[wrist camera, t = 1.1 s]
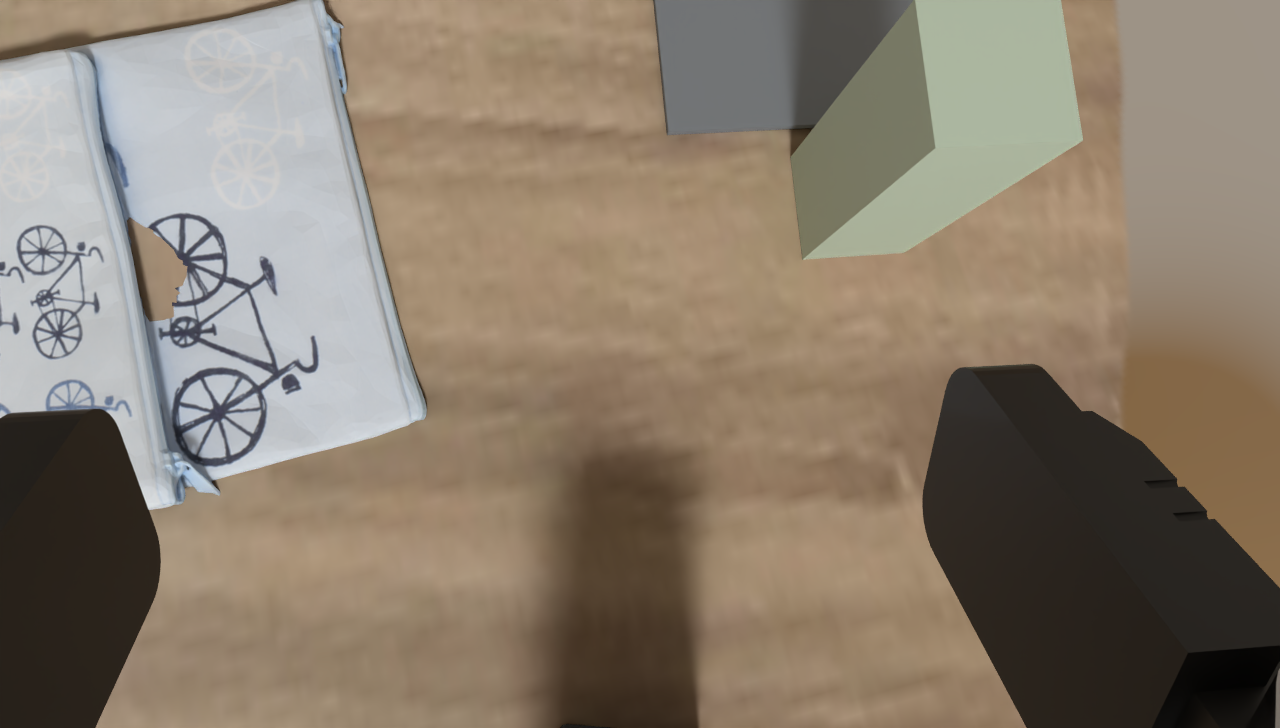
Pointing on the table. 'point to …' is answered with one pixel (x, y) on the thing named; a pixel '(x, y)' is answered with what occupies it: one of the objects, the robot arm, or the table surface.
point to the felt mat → (762, 59)
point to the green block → (936, 125)
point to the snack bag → (198, 248)
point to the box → (579, 726)
